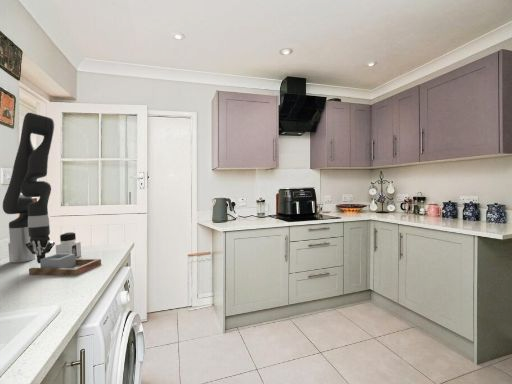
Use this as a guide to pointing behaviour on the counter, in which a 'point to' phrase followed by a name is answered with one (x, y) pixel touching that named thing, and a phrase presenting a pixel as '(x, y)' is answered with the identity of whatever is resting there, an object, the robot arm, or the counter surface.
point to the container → (68, 245)
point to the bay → (85, 263)
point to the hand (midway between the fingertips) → (41, 262)
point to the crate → (58, 261)
